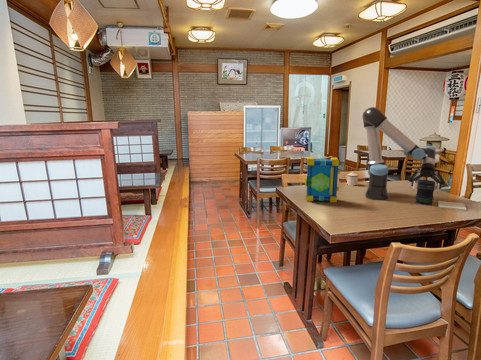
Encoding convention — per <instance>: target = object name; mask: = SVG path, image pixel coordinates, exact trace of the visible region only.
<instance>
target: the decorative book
mask: <svg viewBox="0 0 481 360" xmlns="http://www.w3.org/2000/svg"><path fill="white" fill-rule="evenodd" d="M306 161H307V162H306V164H307V165H306V166H307V167H306V168H307V173H306V175H305V177H304V186H305V187H306V192H305V198H306V202H307V201H313V202H314V201H319V202H325V201H329V203H330V202H337V203H338V201H337V199H338V196H337V192H339V190H340V187H339V186H338V176H339V174H341V170H339V166H340V159H338V157H330V159H328V158H327V159H326V158H318V159H316V158H315V157H309V156H308V157H307V160H306Z"/></svg>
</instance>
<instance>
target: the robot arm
mask: <svg viewBox="0 0 481 360" xmlns="http://www.w3.org/2000/svg"><path fill="white" fill-rule="evenodd" d="M362 121H363V128H364V129H365V130H366V139H367V149H368V159H369V160H368V162H367V175H368V177H369V178H368V186H367V189H366V191H365V193H364V194H365V196H364V197H365V198H367V199H370V200H377V201H387V200H388V199H389V193H388V189H387V185H388V177H389V176H388V173H389V167H388V165H386V164H385V160H384V159H383V156H382V145H381V134H380V131H381V132H382V133H383V134H384V135H385V136H387V137H388V138H389V139H390V140H391V141H393V142H394V143H395V144H396V145H397V146H399V148H400V149H402V150H403V155H404V156H406V157H411V158H412V159H413V160H417V161H418V160H419V161H420V160H421V165H420V166H421V167H420V170H418V169H415V172H414V173H413V174H412V175H411V176H410V177H409V179H408V182H410V183H411V186H410V187H412V191H413V192H414V191H415V186H416V185H415V184H416V182H418V180H421V179H422V178H431V179H432V181H434V182H435V183H436V184H437V188H436V194H437V195H438V194H439V192H440V190H441V189H442V185H444V186H445V184H446V181H445V179H444V178H443V176H442V175H441V172H440V171H439V170H437V171H435V165H436V164H435V163H436V156H437V155H436V153H437V152H436V150H437V149H436V147H435V146H432V145H429V146H428V145H427V146H424V147H420V146H418V145H417V144H416V143H415V142H414V141H413V140H412V139H410V138H409V137H408V136H407V135H405V134H404V133H403V132H402V131H401V130H400V129H399V128H397V127H396V126H395V125H394V124H393V123H392V122H390V121H389V120H388V117H387V116H386V115H385V114H384V113H383V112H382V111H381V110H380V109H379V108H378V107H376V106H373V107H369V108H367V109H364V112H362ZM435 175H436V176H437V177H436V176H435Z"/></svg>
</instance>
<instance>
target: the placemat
mask: <svg viewBox="0 0 481 360" xmlns="http://www.w3.org/2000/svg"><path fill="white" fill-rule="evenodd" d="M437 206H438V208H440V209H446V210H447V209H448V210H455V211H462V212H463V211H464V212H466V211H467V208H466V204H465V203H461V202H452V201H441V200H438V201H437Z"/></svg>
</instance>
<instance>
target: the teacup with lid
mask: <svg viewBox="0 0 481 360" xmlns="http://www.w3.org/2000/svg"><path fill="white" fill-rule="evenodd" d="M345 179H346V181H347V182H346V185H347V184H348V185H347V186H350V185H357V186H358V184H359V183H358V182H359V174H357V173H356V172H355V171H351V172H350V173H348V174H347V175H346V176H345Z"/></svg>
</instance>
